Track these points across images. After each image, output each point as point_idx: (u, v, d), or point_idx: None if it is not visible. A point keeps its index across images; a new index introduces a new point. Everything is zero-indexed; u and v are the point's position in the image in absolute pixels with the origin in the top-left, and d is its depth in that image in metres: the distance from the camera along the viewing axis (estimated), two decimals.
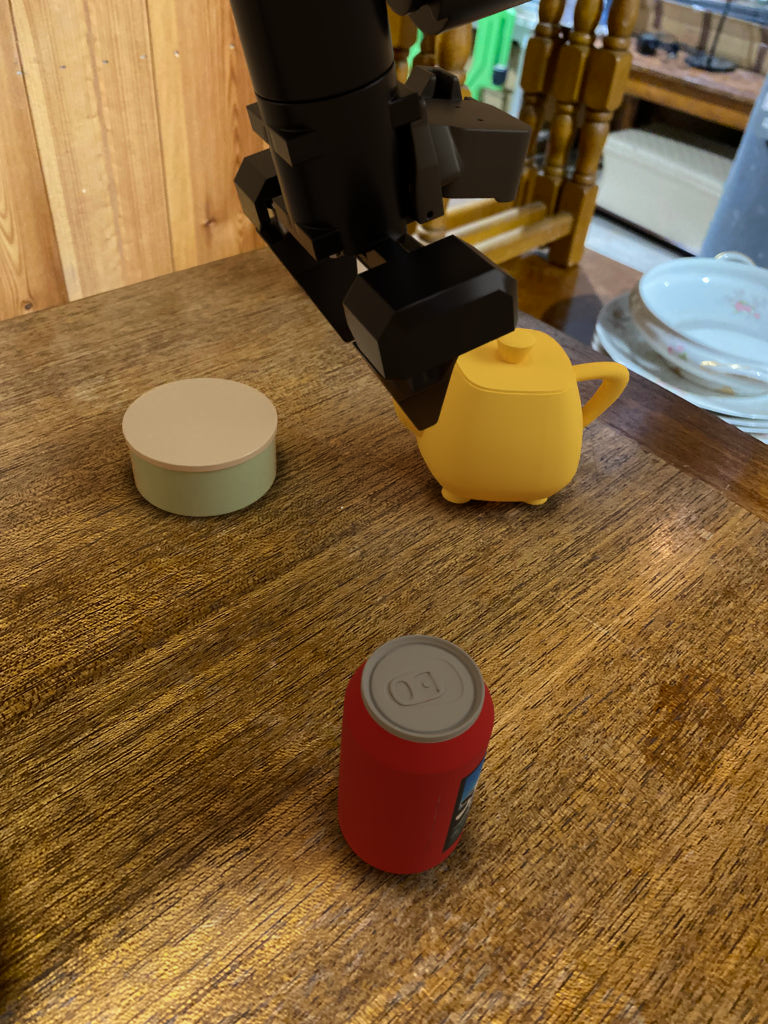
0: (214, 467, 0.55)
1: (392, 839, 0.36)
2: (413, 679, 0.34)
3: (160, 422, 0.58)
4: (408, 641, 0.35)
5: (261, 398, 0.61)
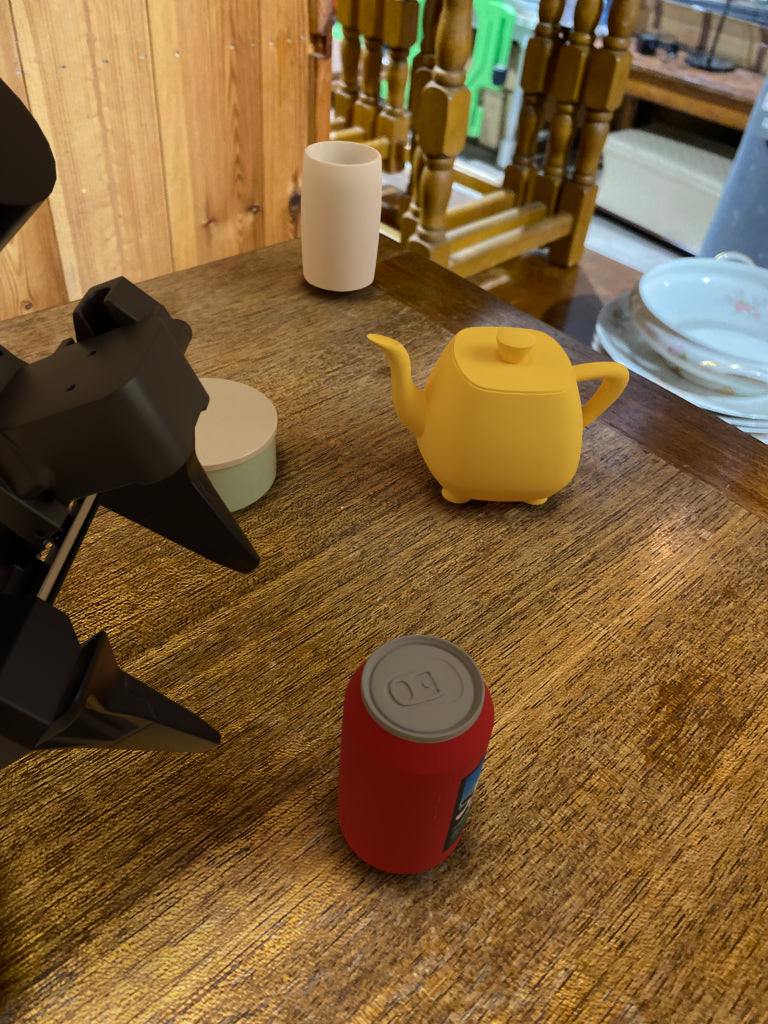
0: (214, 467, 0.55)
1: (392, 840, 0.36)
2: (413, 679, 0.34)
3: None
4: (408, 641, 0.35)
5: (261, 398, 0.61)
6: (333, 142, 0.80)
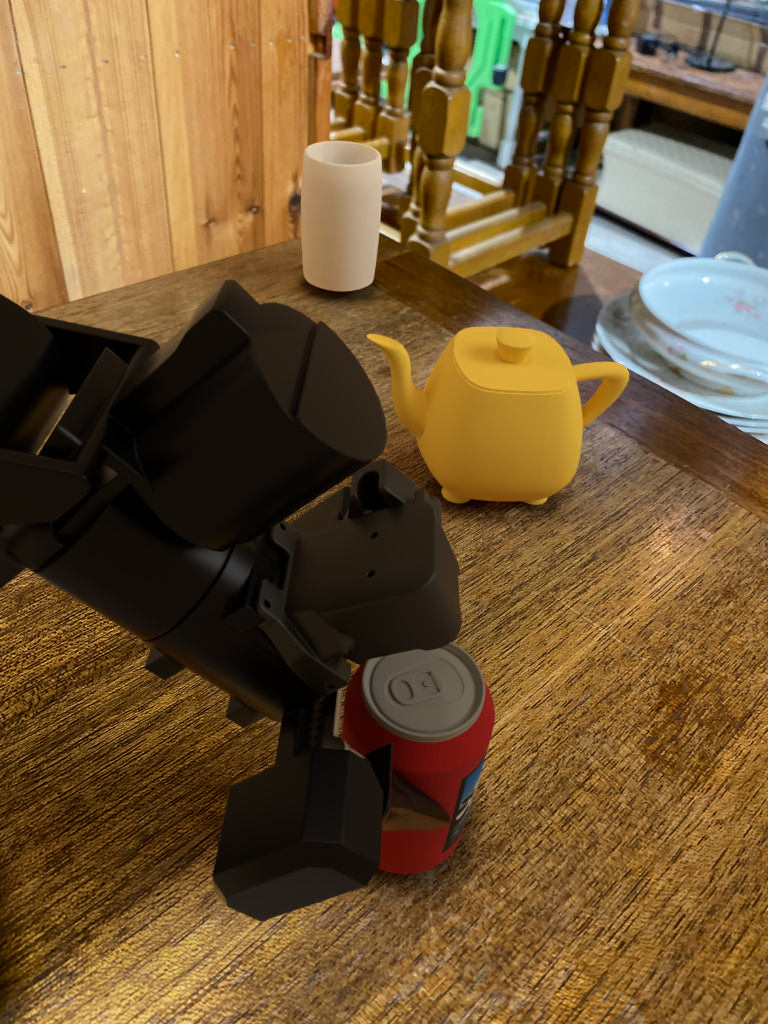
0: None
1: (393, 839, 0.36)
2: (414, 678, 0.34)
3: None
4: None
5: None
6: (333, 142, 0.80)
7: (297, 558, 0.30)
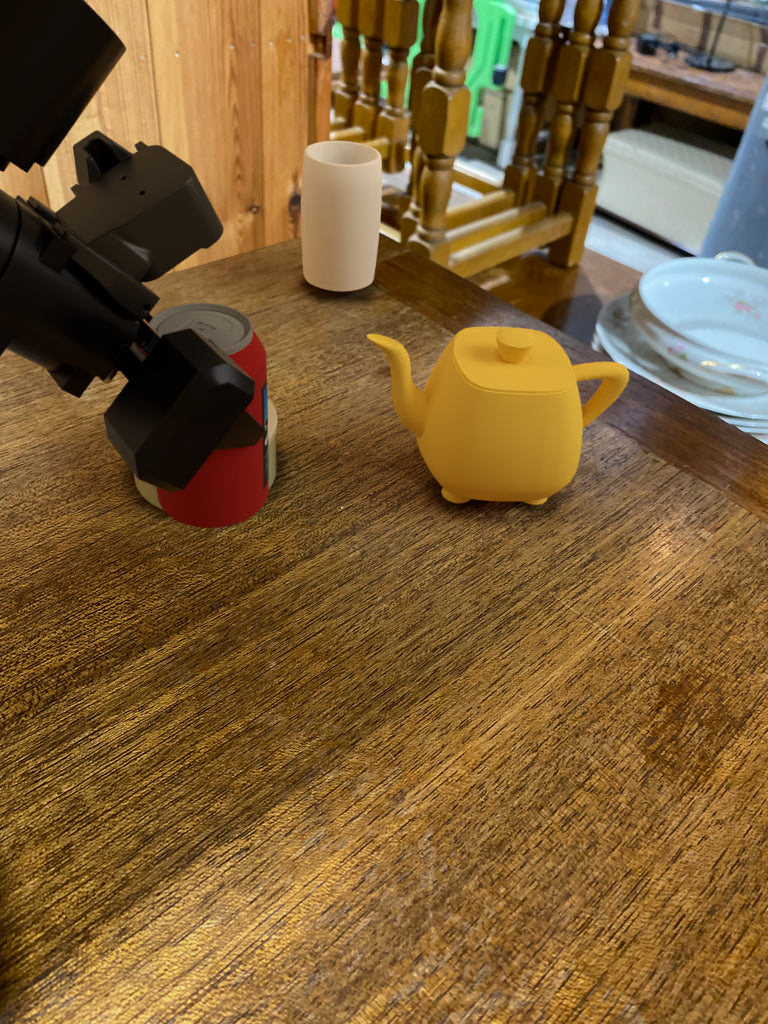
0: None
1: (227, 479, 0.43)
2: None
3: None
4: (169, 313, 0.42)
5: None
6: (333, 142, 0.80)
7: (67, 219, 0.34)
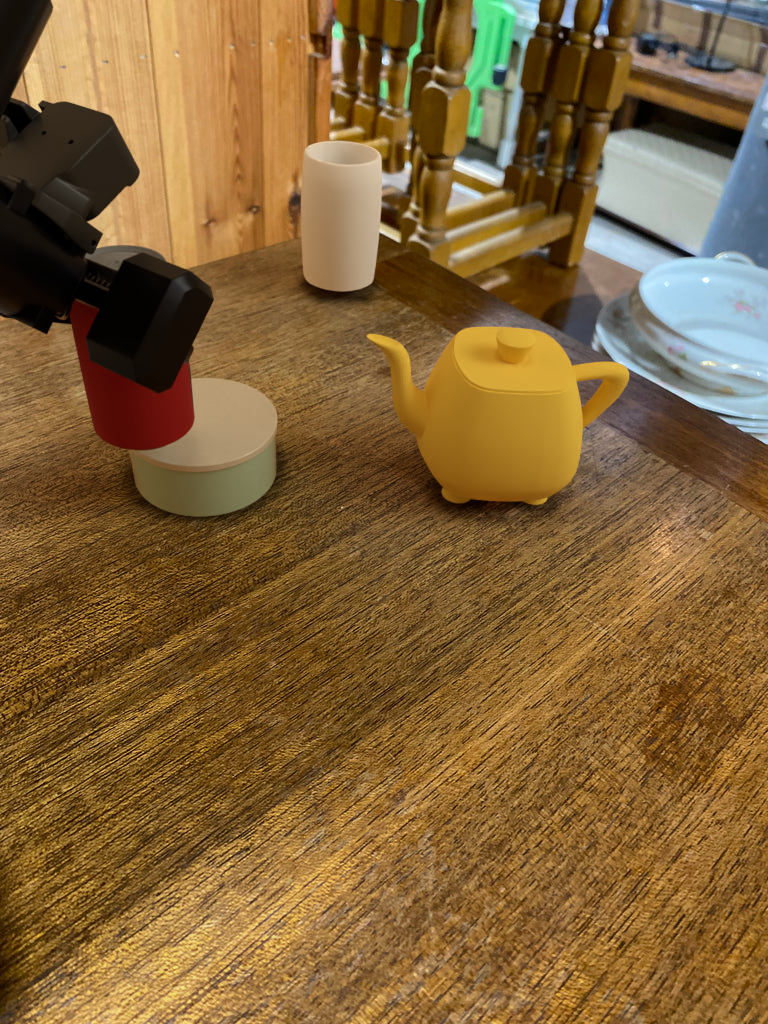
0: (214, 467, 0.55)
1: (167, 397, 0.49)
2: (111, 267, 0.46)
3: None
4: None
5: (261, 398, 0.61)
6: (333, 142, 0.80)
7: (4, 174, 0.38)
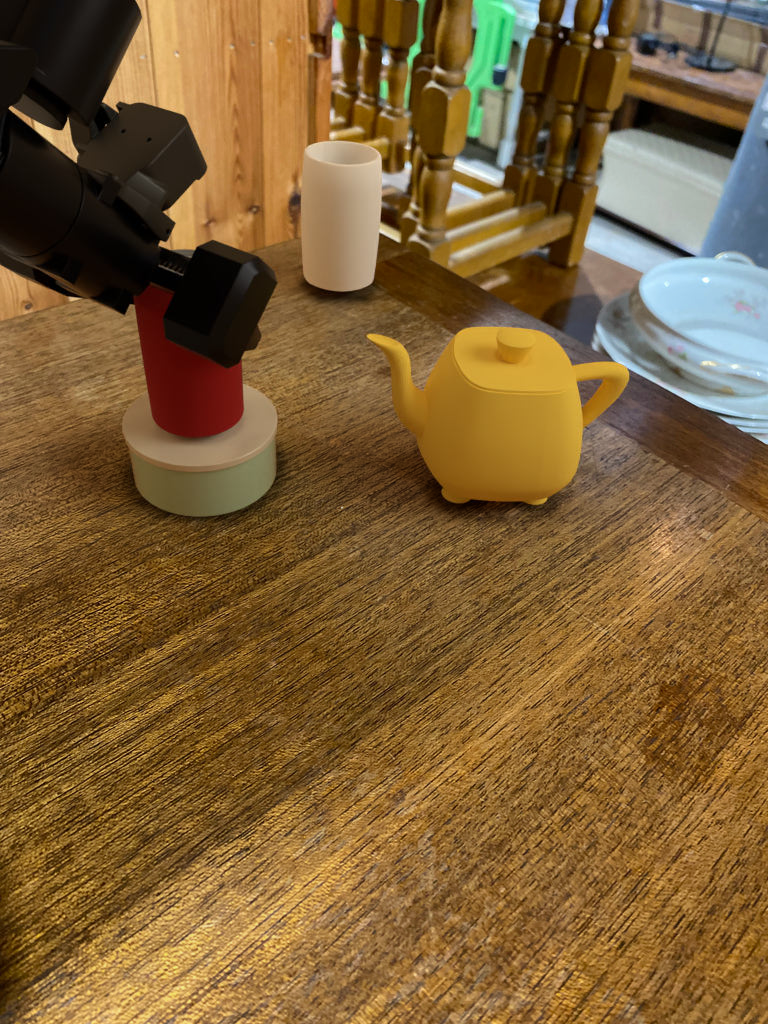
0: (214, 467, 0.55)
1: (223, 389, 0.54)
2: None
3: None
4: None
5: (261, 398, 0.61)
6: (333, 142, 0.80)
7: (89, 169, 0.42)
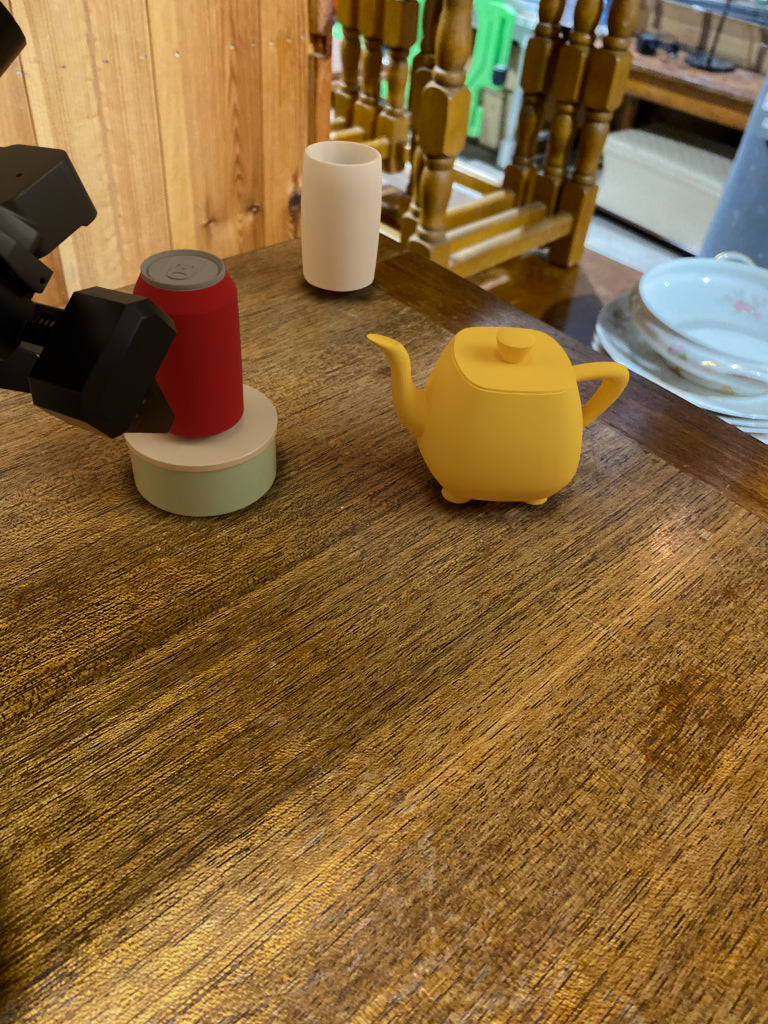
0: (214, 467, 0.55)
1: (223, 389, 0.54)
2: (175, 270, 0.50)
3: None
4: (149, 262, 0.51)
5: (261, 398, 0.61)
6: (333, 142, 0.80)
7: None
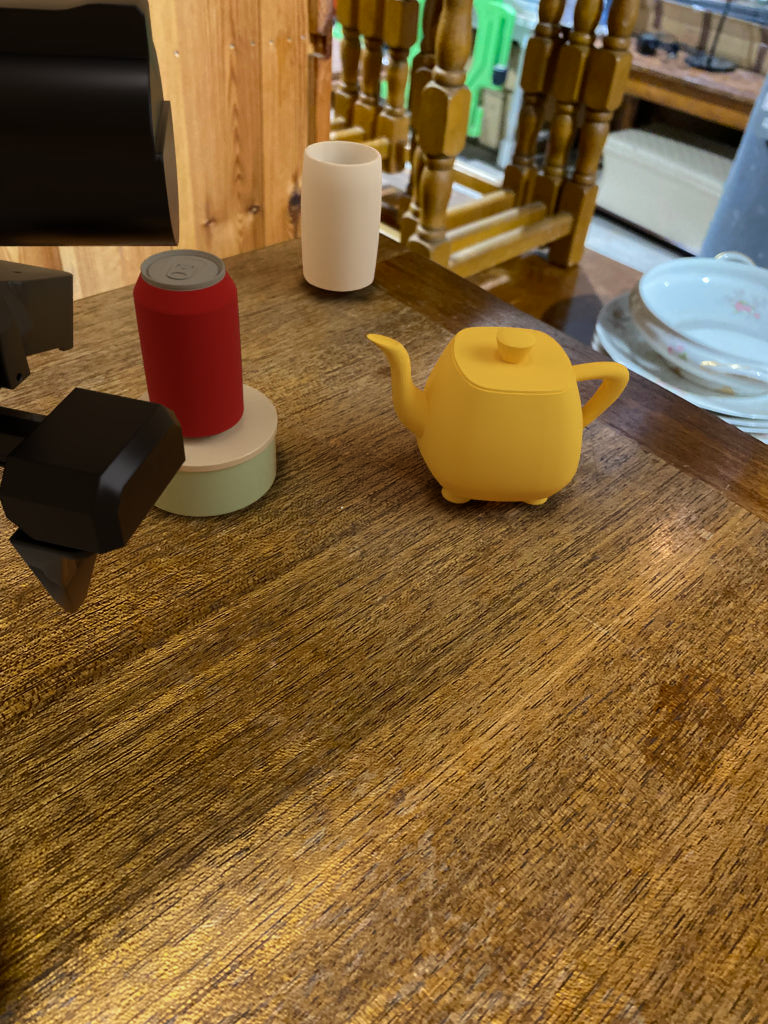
0: (214, 467, 0.55)
1: (223, 389, 0.54)
2: (175, 270, 0.50)
3: None
4: (149, 262, 0.51)
5: (261, 398, 0.61)
6: (333, 142, 0.80)
7: None
